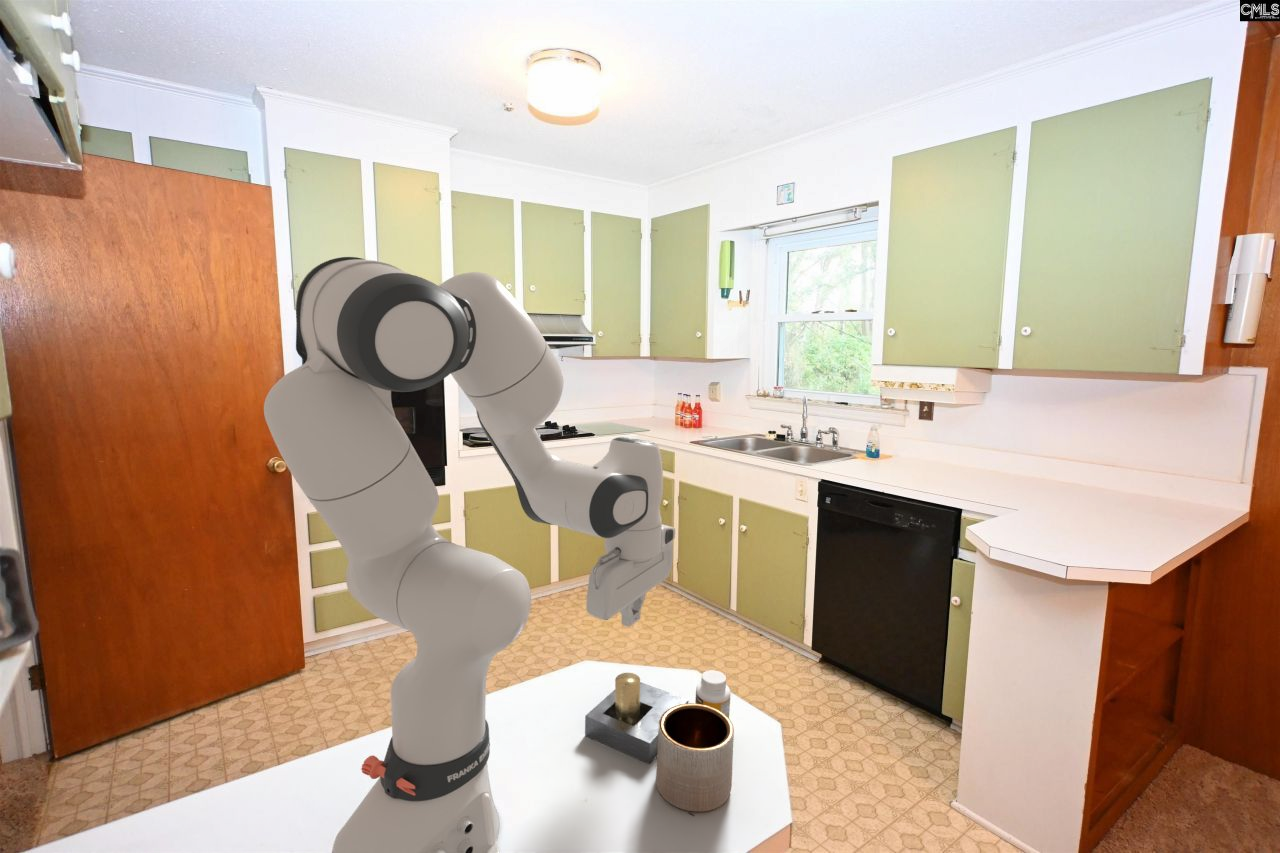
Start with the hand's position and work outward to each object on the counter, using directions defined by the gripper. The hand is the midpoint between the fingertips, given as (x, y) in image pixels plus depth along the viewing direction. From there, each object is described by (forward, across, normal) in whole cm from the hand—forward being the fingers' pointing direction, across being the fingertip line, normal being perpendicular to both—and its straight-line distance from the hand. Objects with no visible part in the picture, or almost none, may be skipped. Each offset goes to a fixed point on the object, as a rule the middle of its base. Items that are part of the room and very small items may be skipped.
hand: (630, 622), depth 96 cm
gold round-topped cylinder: (+19, 0, 0) cm, 19 cm away
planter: (+19, -5, -14) cm, 25 cm away
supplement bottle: (+19, +6, -12) cm, 23 cm away
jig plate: (+19, +1, -1) cm, 19 cm away
